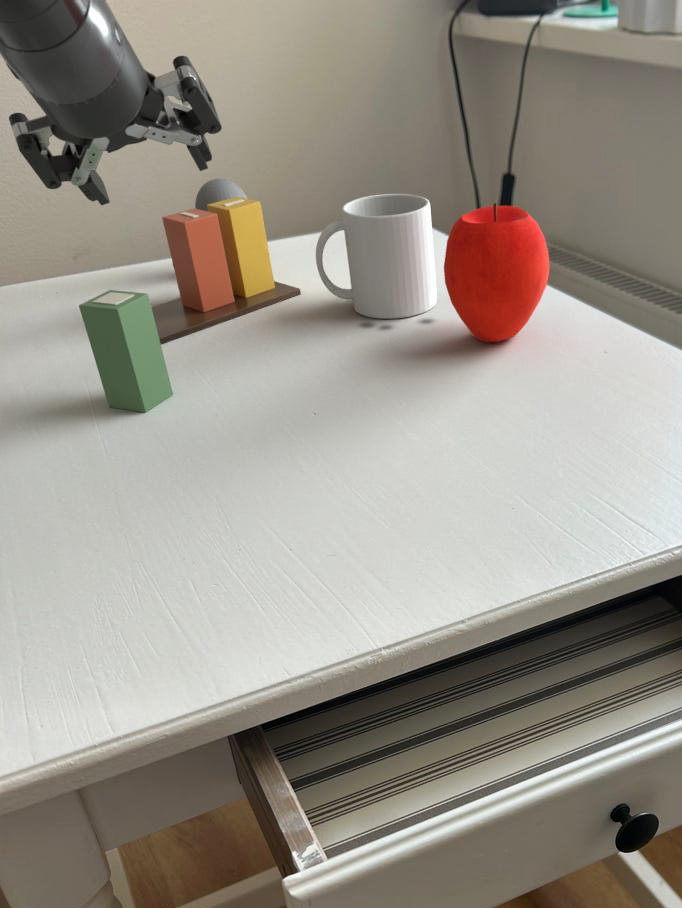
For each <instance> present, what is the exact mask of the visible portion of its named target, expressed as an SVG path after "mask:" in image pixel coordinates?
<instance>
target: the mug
mask: <svg viewBox="0 0 682 908" xmlns="http://www.w3.org/2000/svg"><path fill="white" fill-rule="evenodd" d="M431 212H432V211H431V203H430V200H429V199H427V198H426V197H423V196H420V195H417V194H409V193H383V194H375V195H374V194H373V195H368V196H363V197H359V198H356V199H353V200H351V201H349V202H346V203H345V204H343V206H342V207H341V216H342V219H338V220H334V221H332V222H331V223H329V224H328V225H327V226H325V228H324V229H323V230H322V232H321V233H320V235H319V238H318V239H317V243H316V246H315V247H316V248H315V263H316V264H315V265H316V268H317V272H318V275H319V278H320V280H321V281H322V283H323V285H324V286H325V288H326V290H328V291H329V292H330V293H331V294H333V295H334V296H335V297H337V298H339V299H342V300H352V304H353V309H354V310H355V311H356V313H358V314H359V315H361V316H364V317H368V318H373V319H383V320H385V319H386V320H388V319H389V320H390V319H391V320H392V319H404V318H410V317H415V316H418V315H421V314H424V313H426V312H428V311H430V310H432V309H433V308H434V307H435V306H436V305H437V302H438V294H437V293H438V292H437V282H436V281H437V279H436V266H435V251H434V241H433V240H434V238H433V226H432V225H433V224H432V213H431ZM341 231H344V239H345V240H344V241H345V248H346V255H347V263H348V272H349V278H350V286H351V288H342V287H339V286H338V285H335V284H334V283H333V282H332V281H331V279H330V278H329V276H328V275H327V274H326V271H325V268H324V262H323V257H324V255H323V254H324V250H325V246H326V244H327V243H328V240H329V239H330V238H331V237H332V236H333V235H334V234H336V233H338V232H341Z"/></svg>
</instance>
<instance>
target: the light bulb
mask: <svg viewBox="0 0 682 908" xmlns="http://www.w3.org/2000/svg"><path fill="white" fill-rule="evenodd" d="M234 197H241V198H246V199H248V197H247V195H246V193H245V192H244V191H243V190H242V189H241V187H240V186H239V185H238V184H236V183H235V182H233V181H232V180H229V179H226V178H214V179H210V180H209V181H206V182H204V183H203V185H202V186H201V187H200V188H199V190H198V193H197V194H196V197H195V204H194V205H195V207H194V208H195V209H199V210H203V211H207V212H208V209H207V205H208V204H212V203H216V202H219V201H223V200H227V199H230V198H234Z"/></svg>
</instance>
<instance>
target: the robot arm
mask: <svg viewBox="0 0 682 908" xmlns="http://www.w3.org/2000/svg"><path fill="white" fill-rule="evenodd" d="M118 21H119V20H118V19H117V17H116V16H115V14H114V13H113V10H112V9H111V7H110V5H109V4H108V2H107V0H0V56H1V58H2V60H3V61H4V62H5V64H6V66H7V68H8V69H9V71H10V72H11V74H12V75H13V77H14V78H15V79H16V80H18V81H19V82H20V83H21V84H22V85H23V87H24V88H25V89H26V90H27V92H28V93H29V94H30V96H31V97H32V98H33V100H34V101H35V103H36V104H37V105H38V106H39V107H40V108H41V110H42V111H43V112H44V114H45V115H43V116H39V117H36V118H32V119H29V118H28V116H26V114H24V113H22V112H14V113H12V114H10V115H9V117H8V121H9V124H10V127H11V130H12V133H13V136H14V139H15V143H16V145H17V149H18V151H19V152H20V154H21V155H22V156H23V158H24V159H25V161H26V162H27V164H28V165H29V166H30V167H31V168H32V170H33V171H34V173H35V174H36V175H37V177H38V178H39V179H40V181H41V182H42V184H43V185H44V186H45V188H47V189H48V190H57V189H59V188H60V187H61V186H62V185H63V183H64V182H70V183H71V184H72V185H73V186H75V187H76V186H77V188H78V189H79V190H80V191H81V192H82V194H83V195H84V196H85V198H86V199H87V200H89V201H91V202H96V201H97V202H98V203H99V204H100V205H101V206H104V205H108V204H110V203H111V200H110V197H109V195H108V191H107V189H106V186H105V182H104V181H103V179H102V177H101V176H100V175H99V173H98V172H97V168H98V166H99V163H100V161H101V158H102V155H103V153H104V152H107V154H111V153H114V152H116V151H119V150H121V149H122V148H125V147H126V146H128V145H129V146H130V145H134V144H139V143H143V142H146V141H148V139H149V140H151V141H156V142H159V143H162V144H165V145H169V146H171V145H172V144H173V143H174V142H176V143H180V144H183V145H186V148H187V150H188V152H189V154H190V155H191V157H192V159H193V161H194V163H195V165H196V166H197V168H198V171H199V172H202V171H206V170H207V169H209V166H208V162H211V161H212V159H213V155H212V153H211V149H210V146H209V144H208V140H207V139H206V137H205V135H206V134H210V135H214V134H215V135H216V134H218V133H219V132H221V130H222V128H223V127H222V124H221V121H220V118H219V114H218V112H217V109H216V106H215V104H214V101H213V98H212V96H211V94H210V93H209V91H208V89H207V87H206V86H205V84H204V82H203V80H202V79H201V77H200V75H199V74H198V72H197V70H196V69H195V67H194V65H193V63H192V62H191V60H190V58H189V57H188V56H186V55H178V56H176V57H175V58H173V60H172V66H173V68H174V70H172V71H169V72H167V73H163V74H161V75H159V76H156V75H155V74H153V73H151V72H150V71H147V70H146V69H145V68H144V66H143V65H142V63H141V61H140V59H139V58H138V56H137V54H136V52H135V50H134V49H133V47H132V45H131V43H130V41H129V39H128V38H127V37H126V36H127V35H126V34H125V32H124V30H123V29H122V27H121V25H120V23H119V22H118ZM168 96H169V97H174V98H175V99H176V100H177V101H181V104H182V105H181V104H178V103H175V102H173V101H171V99H170V98H169V97H168ZM188 106H190V107H188ZM52 136H54V137H55V138H57V140H60V141H62V142H64V144H63V147H62V150H61V154H58V155H53V153H52V151H50V149H49V148H48V147H49V146H50V141H49V140H50V138H51V137H52Z"/></svg>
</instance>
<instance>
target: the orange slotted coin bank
mask: <svg viewBox="0 0 682 908" xmlns="http://www.w3.org/2000/svg"><path fill="white" fill-rule="evenodd" d="M161 218H162V219H161V220H162V223H163V227H164V231H165V237H166V241H167V245H168V249H169V253H170V257H171V262H172V267H173V271H174V273H175V280H176V284H177V288H178V292H179V296H180V297H181V301H182V305H183V306H186V307H189V308H192V309H195V310H198V311H201V312H207V311H210V310H213V309H216V308H218V307H221V306H224V305H227V304H230V303H233V302H234V297H233V292H232V287H231V282H230V277H229V272H228V267H227V262H226V257H225V252H224V247H223V242H222V237H221V232H220V227H219V222H218V216H217V214H215V213H211V212H207V211H203V210H199V209H196V208H195V207H194V208H191V209H187V210H182V211H179V212H175V213H171V214H168V215H165V216H162V217H161ZM180 297H179V298H180Z"/></svg>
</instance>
